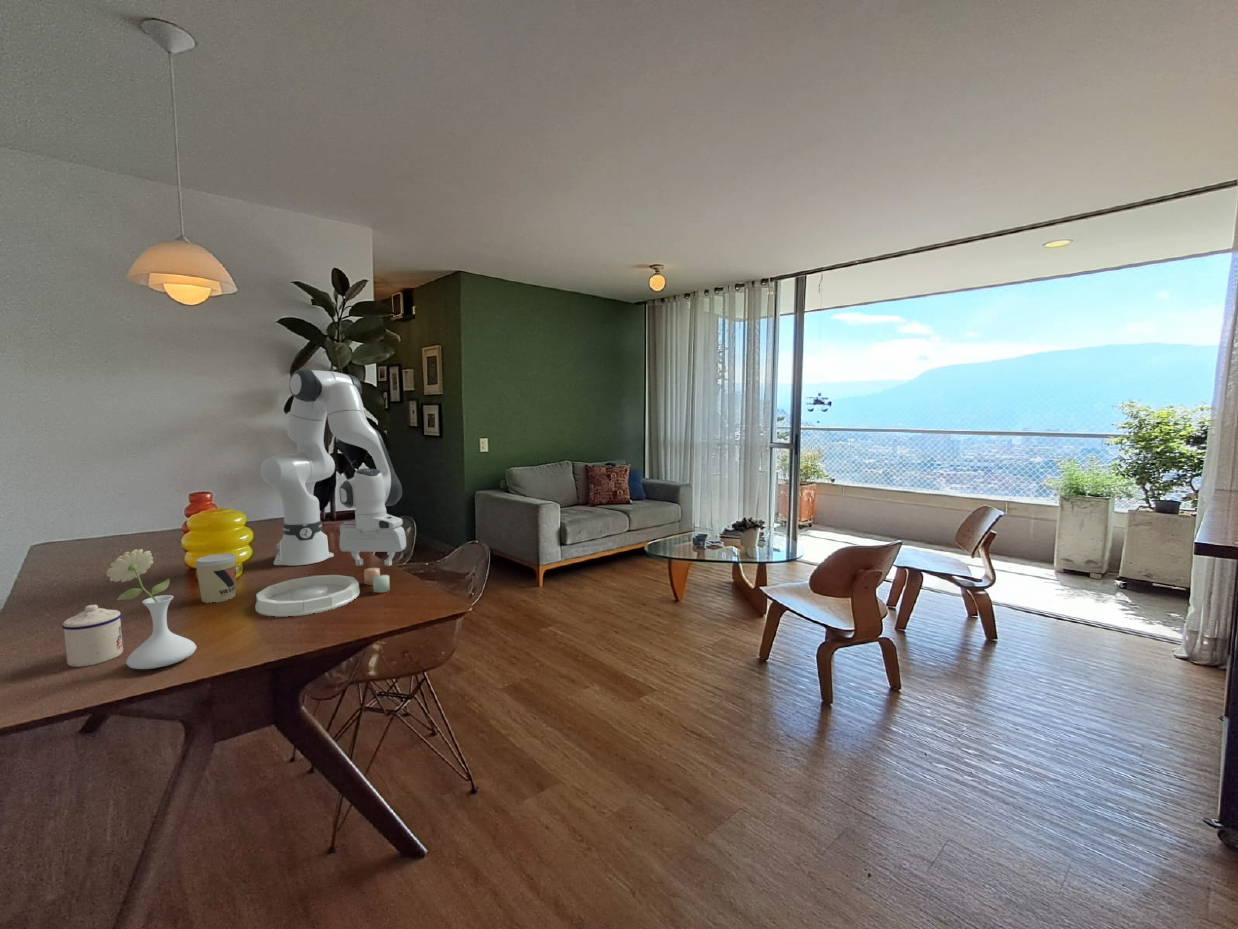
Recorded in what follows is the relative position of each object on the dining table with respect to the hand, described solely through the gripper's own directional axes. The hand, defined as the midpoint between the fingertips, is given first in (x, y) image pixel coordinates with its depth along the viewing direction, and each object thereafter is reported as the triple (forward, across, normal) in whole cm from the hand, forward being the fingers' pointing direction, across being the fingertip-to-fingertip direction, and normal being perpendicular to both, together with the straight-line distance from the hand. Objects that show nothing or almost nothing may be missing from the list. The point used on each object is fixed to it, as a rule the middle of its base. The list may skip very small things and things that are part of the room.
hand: (374, 565), depth 166 cm
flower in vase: (+6, -16, -56) cm, 58 cm away
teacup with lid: (+6, -33, -54) cm, 64 cm away
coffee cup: (+5, -37, -17) cm, 41 cm away
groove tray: (+6, -10, -16) cm, 20 cm away
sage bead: (+6, +6, -7) cm, 11 cm away
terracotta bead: (+6, -1, 0) cm, 6 cm away
